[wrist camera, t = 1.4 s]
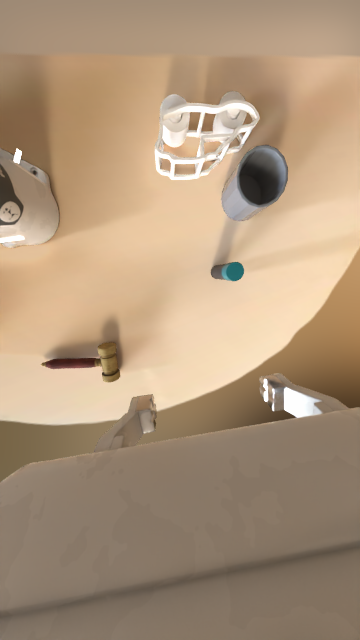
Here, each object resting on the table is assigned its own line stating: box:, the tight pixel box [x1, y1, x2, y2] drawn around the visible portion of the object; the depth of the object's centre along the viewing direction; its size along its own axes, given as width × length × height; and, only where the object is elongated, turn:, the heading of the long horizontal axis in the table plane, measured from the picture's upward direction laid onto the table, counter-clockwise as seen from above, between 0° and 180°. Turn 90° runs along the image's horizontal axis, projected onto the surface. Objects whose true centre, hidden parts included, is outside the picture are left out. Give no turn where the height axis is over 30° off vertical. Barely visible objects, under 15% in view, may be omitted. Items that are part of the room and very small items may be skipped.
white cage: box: [155, 91, 260, 180], centre depth 36 cm, size 20×11×7 cm, turn 96°
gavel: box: [41, 342, 120, 382], centre depth 48 cm, size 21×5×10 cm
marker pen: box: [211, 262, 244, 281], centre depth 40 cm, size 4×4×12 cm
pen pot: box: [221, 145, 288, 221], centre depth 38 cm, size 10×10×10 cm
